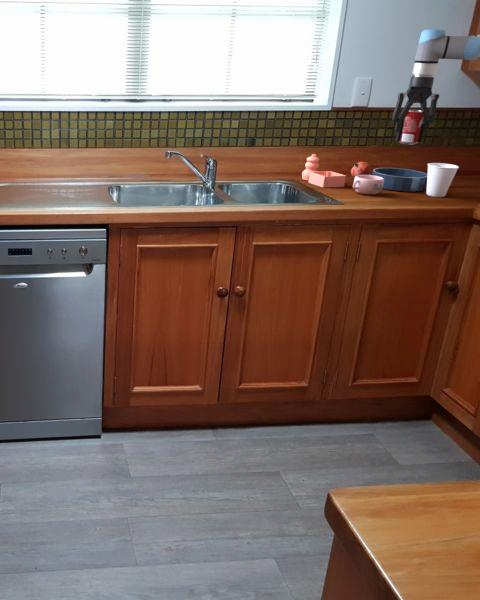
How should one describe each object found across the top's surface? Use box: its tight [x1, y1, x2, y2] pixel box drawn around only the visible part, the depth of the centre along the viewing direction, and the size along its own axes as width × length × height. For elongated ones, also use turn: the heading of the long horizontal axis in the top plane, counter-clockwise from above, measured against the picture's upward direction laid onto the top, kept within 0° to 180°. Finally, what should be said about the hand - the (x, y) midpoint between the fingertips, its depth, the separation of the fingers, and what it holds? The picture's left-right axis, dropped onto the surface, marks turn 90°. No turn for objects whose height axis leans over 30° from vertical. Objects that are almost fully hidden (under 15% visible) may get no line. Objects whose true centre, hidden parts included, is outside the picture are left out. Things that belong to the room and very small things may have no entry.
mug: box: [352, 174, 384, 196], centre depth 221 cm, size 12×10×6 cm
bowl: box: [371, 167, 428, 193], centre depth 233 cm, size 19×19×6 cm
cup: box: [425, 162, 460, 198], centre depth 220 cm, size 10×10×11 cm
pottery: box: [301, 153, 347, 189], centre depth 237 cm, size 18×10×10 cm, turn 16°
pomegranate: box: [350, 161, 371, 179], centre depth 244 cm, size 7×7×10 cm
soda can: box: [397, 109, 424, 146], centre depth 226 cm, size 7×7×12 cm
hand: (407, 141), depth 228 cm, fingers closed on soda can, 7 cm apart
